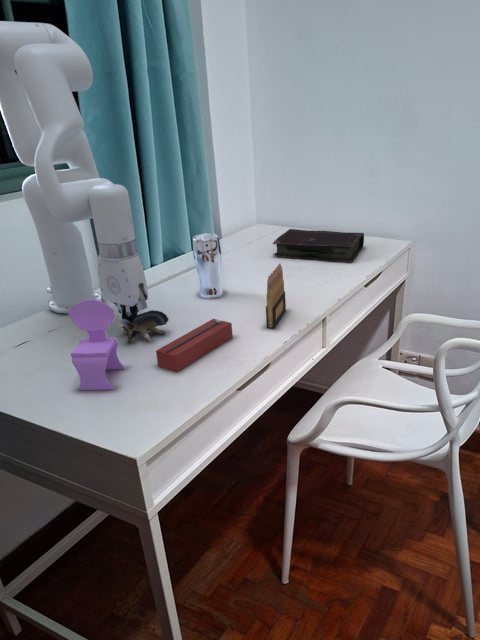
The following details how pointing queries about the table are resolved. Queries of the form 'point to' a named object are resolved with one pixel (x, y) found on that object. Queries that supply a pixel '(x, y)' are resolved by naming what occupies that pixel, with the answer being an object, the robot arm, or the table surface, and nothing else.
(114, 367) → the toy chair
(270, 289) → the ammunition clip
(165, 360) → the pencil case
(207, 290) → the beer glass
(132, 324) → the eagle figurine
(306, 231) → the diary
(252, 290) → the table surface
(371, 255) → the table surface
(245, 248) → the table surface
